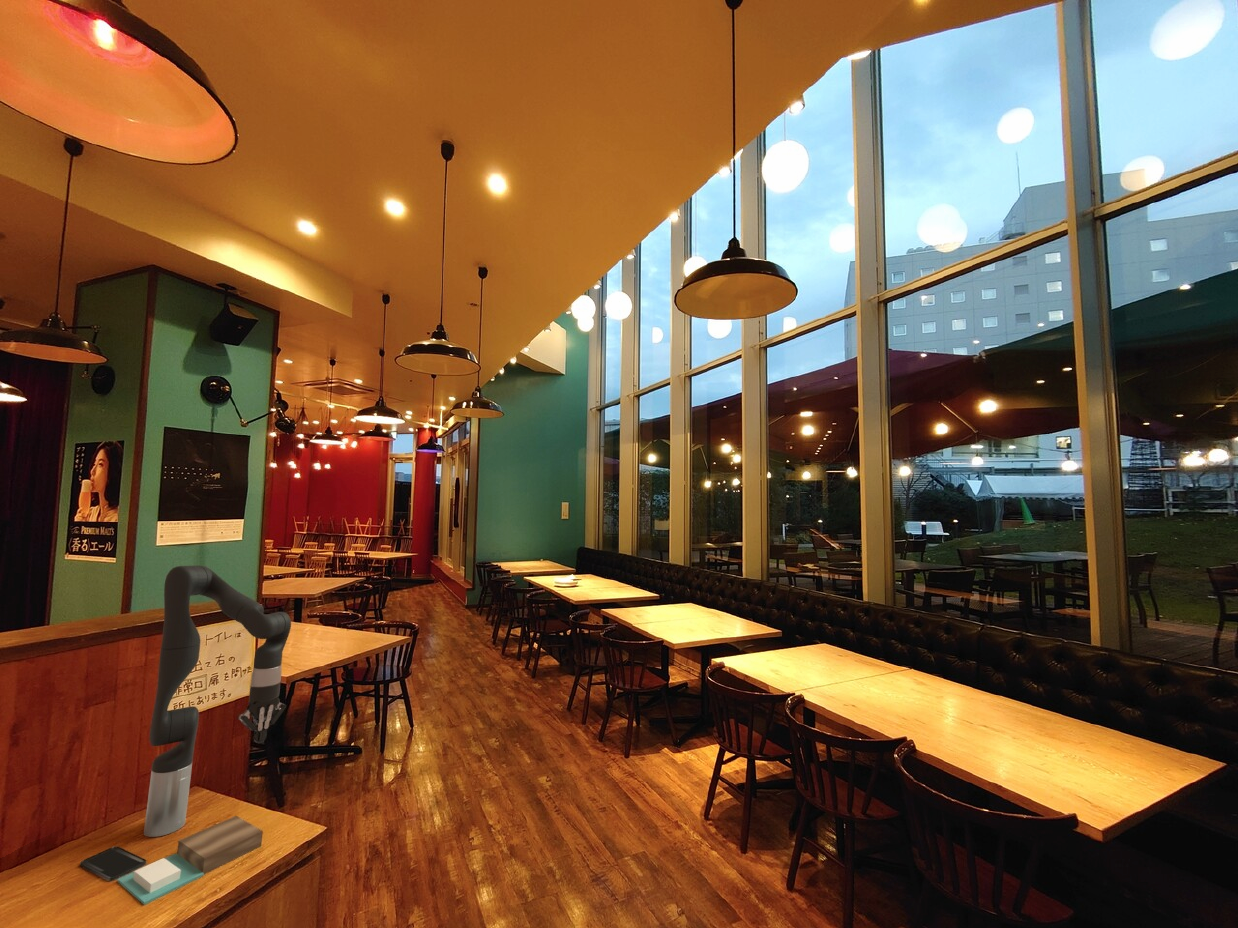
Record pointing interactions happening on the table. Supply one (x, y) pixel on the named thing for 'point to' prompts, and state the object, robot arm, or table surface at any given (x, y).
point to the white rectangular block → (157, 875)
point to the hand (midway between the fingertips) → (259, 742)
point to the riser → (220, 844)
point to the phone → (113, 863)
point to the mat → (186, 876)
